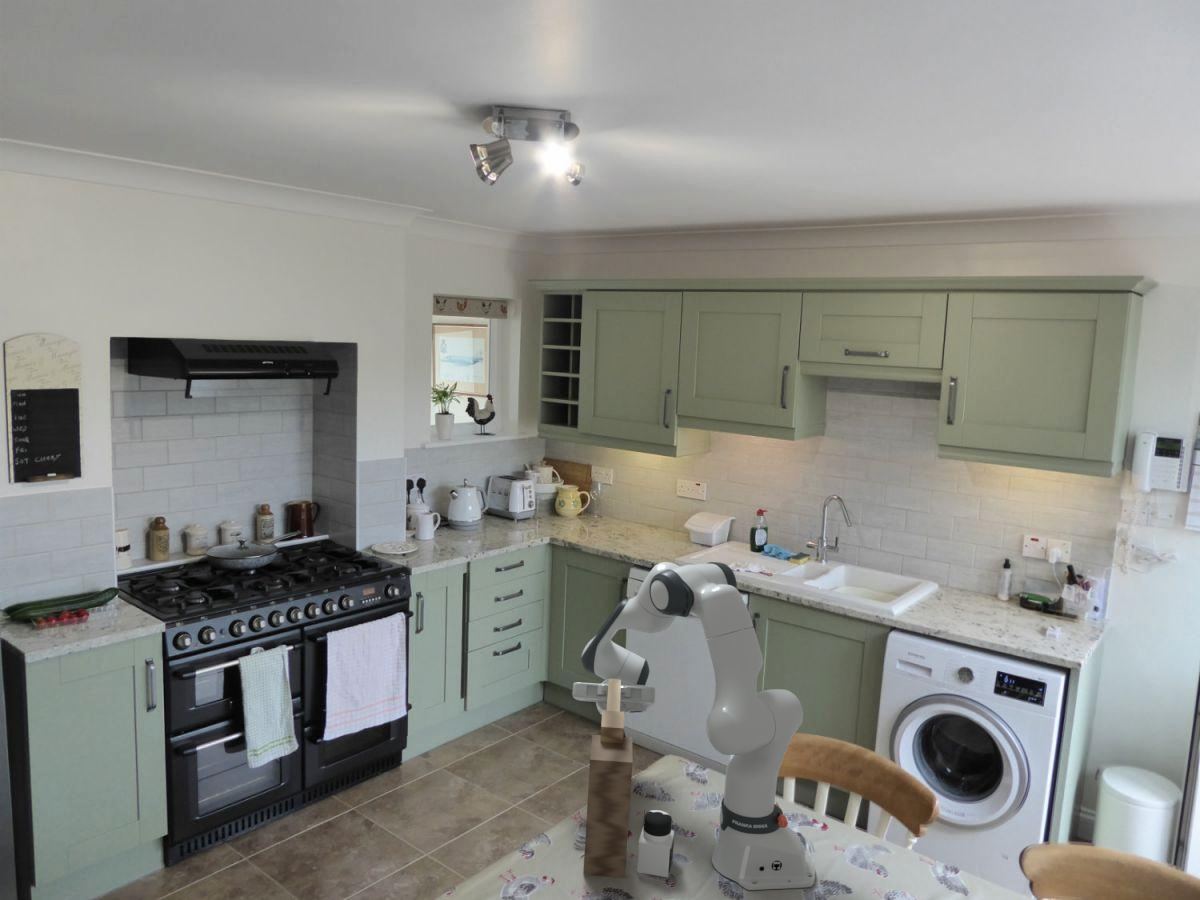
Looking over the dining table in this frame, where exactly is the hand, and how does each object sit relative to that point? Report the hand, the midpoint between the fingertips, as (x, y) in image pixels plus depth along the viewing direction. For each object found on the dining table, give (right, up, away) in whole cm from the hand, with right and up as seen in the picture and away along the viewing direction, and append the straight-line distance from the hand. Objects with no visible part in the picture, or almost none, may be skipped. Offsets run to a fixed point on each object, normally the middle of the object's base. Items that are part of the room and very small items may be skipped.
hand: (614, 689), depth 207 cm
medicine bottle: (+9, -35, -16) cm, 39 cm away
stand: (-2, -34, -14) cm, 37 cm away
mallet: (-1, -5, -6) cm, 8 cm away
